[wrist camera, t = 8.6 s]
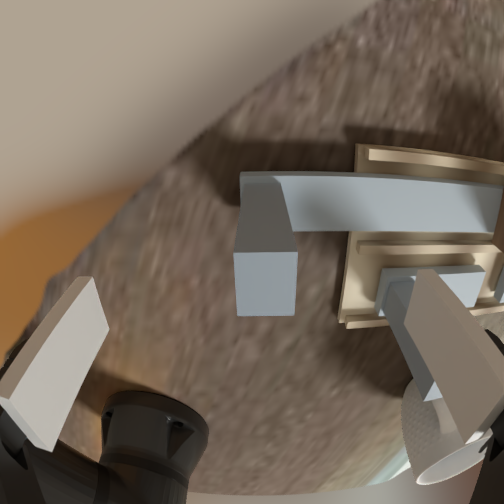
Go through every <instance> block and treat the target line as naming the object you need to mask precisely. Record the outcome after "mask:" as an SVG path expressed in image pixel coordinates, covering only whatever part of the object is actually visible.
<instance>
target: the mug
mask: <svg viewBox="0 0 504 504" xmlns="http://www.w3.org/2000/svg"><path fill="white" fill-rule="evenodd" d="M401 406H402V407H401V409H402V410H401V421H402V430H403V438H404V441H405V447H406V450H407V454H408V457H409V462H410V464H411V468H412V470H413V474H414V478H415V481H416V483H417V484H421V485H428V484H433V483H437V482H440V481H443V480H446V479H449V478H451V477H453V476H455V475H457V474H459V473H461V472H463V471H465V470H467V469H469V468H470V467H472V466H473V465H475V464H477V463H478V462H479V461H481V460H482V459H484V457H485V455H484V454H485V453H486V450H487V447H486V448H485V449H484V450H483V451H482V453H478V452H479V450H480V448H481V447H482V446H483V445H484V444H485V442H486V441H487V440H488V439H489V438H490V437H491V436H492V434H493V432H492V430H491V428H489V430H488V431H487V432H486V433H485V434H484V436H483V437H482V438H480V439H478V440H475V441H473V442H470V443H468V444H464V442H463V440H462V437H461V435H460V433H459V431H458V428H457V426H456V424H455V422H454V420H453V418H452V415H451V413H450V411H449V409H448V407H447V405H446V403H445V401H444V399H443V397H442V398H438V399H434V400H429V401H424V402H423V400H422V397H421V395H420V392H419V390H418V388H417V385H416V383H415V380H414V378H413V379H412V380H411V382H410V383H409V384H408V386H407V387H406V390H405V392H404V396H403V401H402V405H401Z"/></svg>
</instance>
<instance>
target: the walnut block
mask: <svg viewBox="0 0 504 504" xmlns="http://www.w3.org/2000/svg"><path fill="white" fill-rule="evenodd" d="M491 243H492V244H493V245H494V246H496V247H497V248H498V249H499V250H500V251H502V252H503V253H504V188H503V194H502V199H501V204H500V209H499V213H498V218H497V222H496V227H495V231H494V235H493V238H492V242H491Z"/></svg>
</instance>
